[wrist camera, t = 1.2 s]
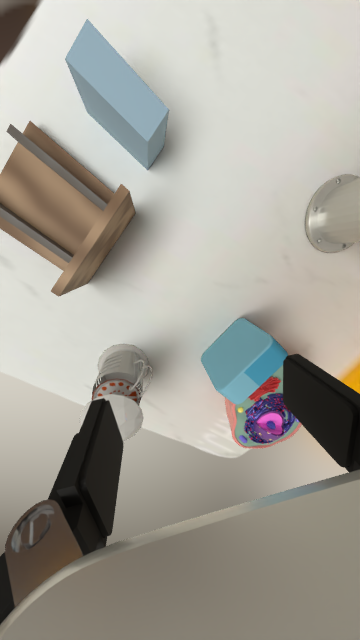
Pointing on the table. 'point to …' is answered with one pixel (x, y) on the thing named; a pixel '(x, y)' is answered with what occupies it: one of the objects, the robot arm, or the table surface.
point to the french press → (122, 386)
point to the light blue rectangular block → (117, 96)
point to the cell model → (262, 416)
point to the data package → (242, 360)
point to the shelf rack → (60, 208)
